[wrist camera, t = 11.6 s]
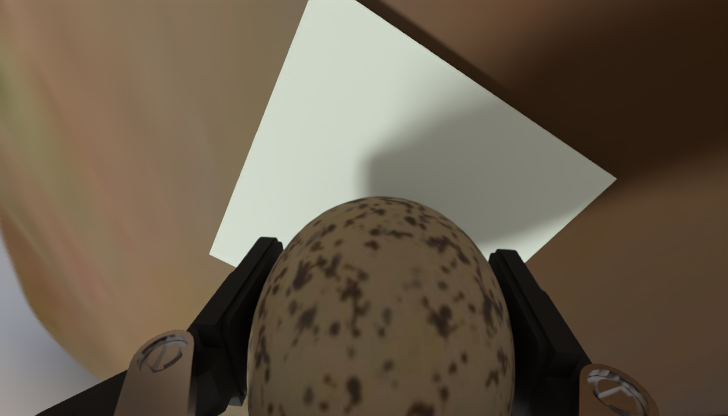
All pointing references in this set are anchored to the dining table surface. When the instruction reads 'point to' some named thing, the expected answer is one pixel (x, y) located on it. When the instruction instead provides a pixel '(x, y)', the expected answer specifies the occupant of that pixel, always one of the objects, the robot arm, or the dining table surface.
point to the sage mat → (398, 143)
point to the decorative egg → (381, 320)
